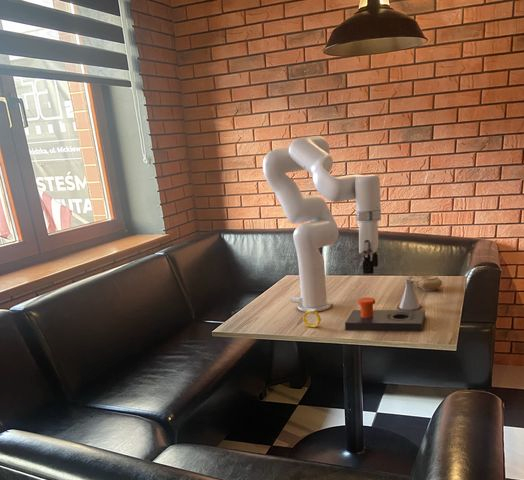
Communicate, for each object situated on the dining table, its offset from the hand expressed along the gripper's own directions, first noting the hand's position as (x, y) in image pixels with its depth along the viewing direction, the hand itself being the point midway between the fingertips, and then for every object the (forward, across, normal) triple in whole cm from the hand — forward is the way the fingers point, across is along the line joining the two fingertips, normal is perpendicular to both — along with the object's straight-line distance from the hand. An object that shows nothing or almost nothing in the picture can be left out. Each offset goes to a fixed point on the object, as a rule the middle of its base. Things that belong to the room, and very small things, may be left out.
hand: (370, 270), depth 173 cm
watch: (+18, +5, -20) cm, 27 cm away
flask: (+18, -17, +10) cm, 27 cm away
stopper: (+15, +1, -2) cm, 16 cm away
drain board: (+18, +1, +4) cm, 19 cm away
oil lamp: (+18, -42, +14) cm, 48 cm away
